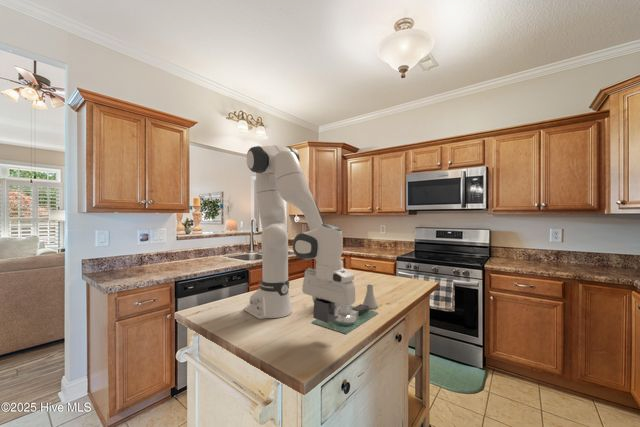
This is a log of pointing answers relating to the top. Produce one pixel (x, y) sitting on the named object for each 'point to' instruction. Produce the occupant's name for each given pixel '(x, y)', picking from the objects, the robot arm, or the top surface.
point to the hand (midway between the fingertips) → (326, 312)
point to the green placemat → (348, 318)
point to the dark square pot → (324, 310)
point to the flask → (370, 298)
